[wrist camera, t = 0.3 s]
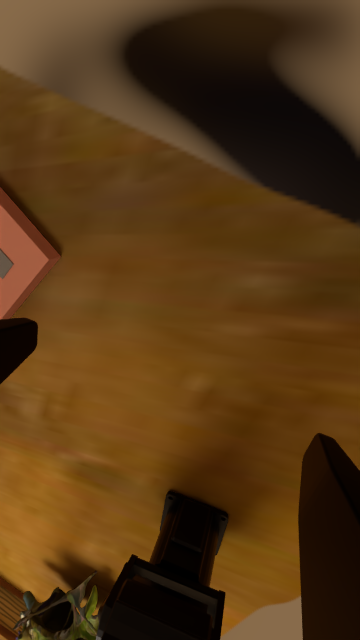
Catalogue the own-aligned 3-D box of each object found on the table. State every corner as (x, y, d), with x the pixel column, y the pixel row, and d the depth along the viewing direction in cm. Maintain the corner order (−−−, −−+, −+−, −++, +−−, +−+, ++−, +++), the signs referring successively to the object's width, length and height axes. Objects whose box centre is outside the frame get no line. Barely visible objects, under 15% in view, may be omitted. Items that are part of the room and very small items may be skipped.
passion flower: (98, 551, 51) (8, 607, 43) (108, 526, 44) (2, 589, 36) (131, 643, 44) (31, 731, 36) (150, 633, 37) (29, 740, 29)
